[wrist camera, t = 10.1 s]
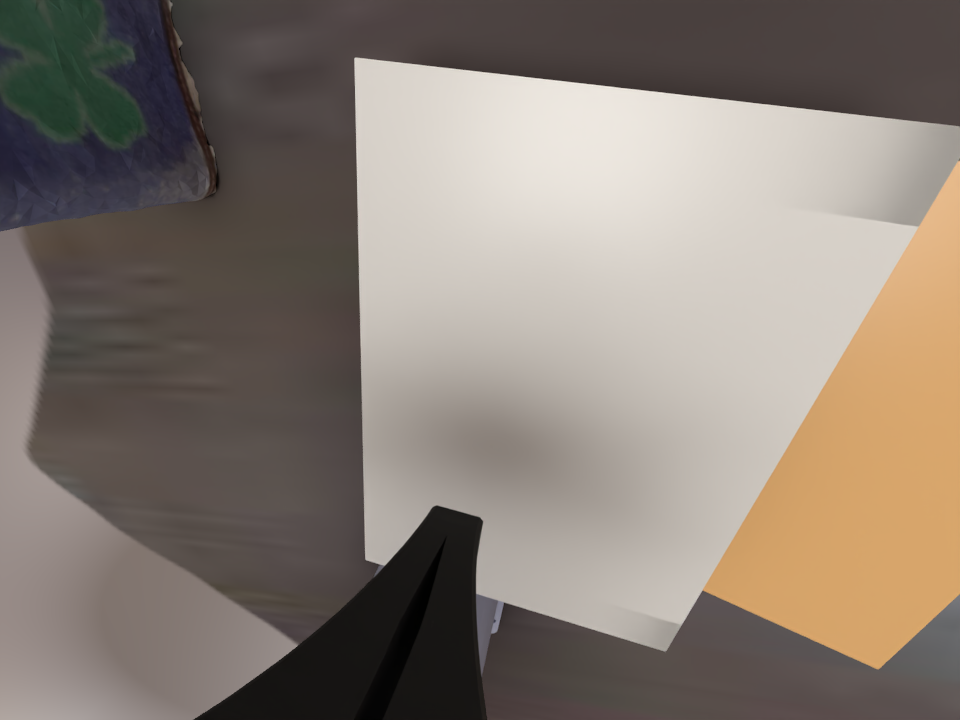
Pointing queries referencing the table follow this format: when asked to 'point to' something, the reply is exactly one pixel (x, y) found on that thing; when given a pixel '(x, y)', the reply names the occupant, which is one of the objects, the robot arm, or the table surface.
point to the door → (870, 472)
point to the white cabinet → (607, 317)
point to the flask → (96, 111)
